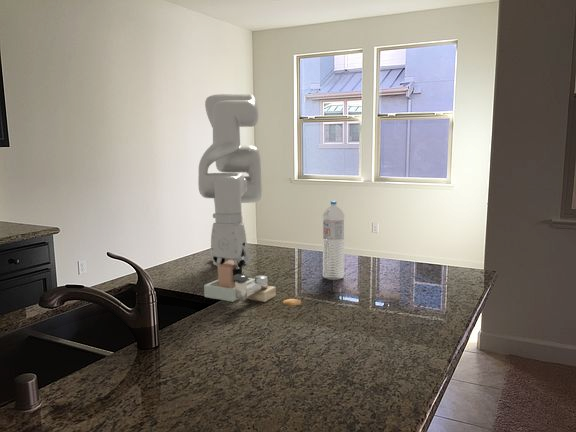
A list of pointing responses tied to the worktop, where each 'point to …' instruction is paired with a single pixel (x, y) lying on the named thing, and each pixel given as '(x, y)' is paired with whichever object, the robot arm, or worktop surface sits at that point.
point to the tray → (222, 291)
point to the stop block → (226, 274)
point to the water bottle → (333, 243)
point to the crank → (247, 290)
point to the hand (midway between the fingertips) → (230, 279)
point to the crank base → (271, 296)
